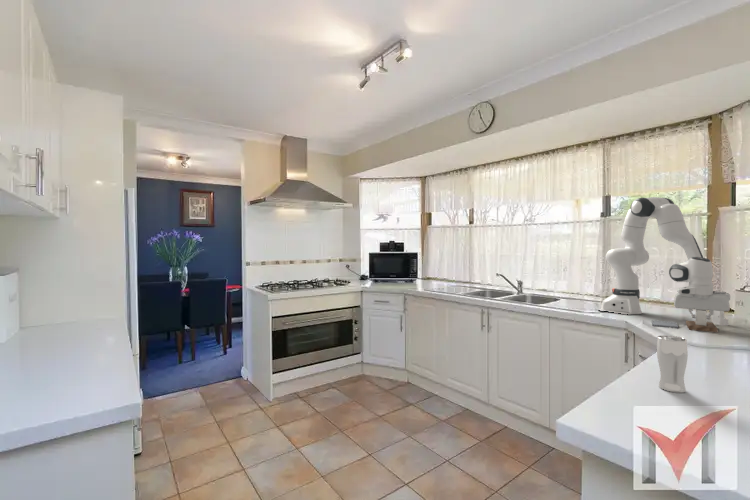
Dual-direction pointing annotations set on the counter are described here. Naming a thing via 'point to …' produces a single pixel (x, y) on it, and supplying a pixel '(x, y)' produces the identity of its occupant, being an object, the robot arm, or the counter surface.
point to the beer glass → (672, 362)
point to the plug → (700, 317)
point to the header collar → (701, 326)
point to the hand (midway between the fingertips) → (700, 318)
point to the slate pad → (664, 324)
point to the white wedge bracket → (719, 318)
